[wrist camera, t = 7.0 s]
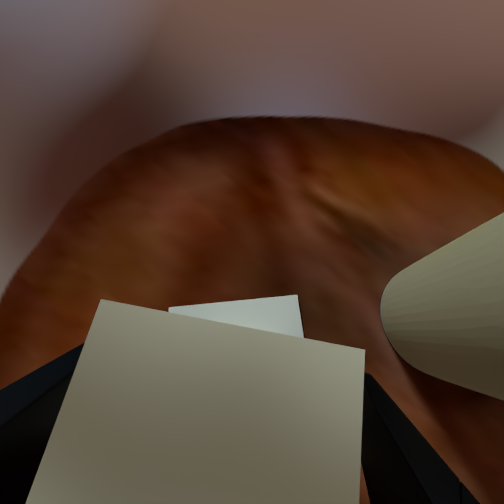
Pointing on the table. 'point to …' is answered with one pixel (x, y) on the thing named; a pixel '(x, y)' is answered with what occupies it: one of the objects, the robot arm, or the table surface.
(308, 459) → the letter block
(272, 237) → the table surface
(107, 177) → the table surface
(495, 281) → the coffee cup
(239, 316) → the ceramic tile
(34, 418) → the robot arm
